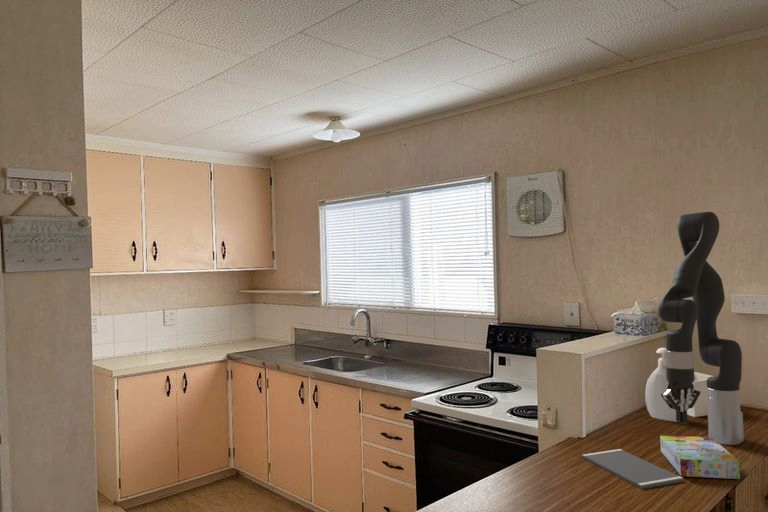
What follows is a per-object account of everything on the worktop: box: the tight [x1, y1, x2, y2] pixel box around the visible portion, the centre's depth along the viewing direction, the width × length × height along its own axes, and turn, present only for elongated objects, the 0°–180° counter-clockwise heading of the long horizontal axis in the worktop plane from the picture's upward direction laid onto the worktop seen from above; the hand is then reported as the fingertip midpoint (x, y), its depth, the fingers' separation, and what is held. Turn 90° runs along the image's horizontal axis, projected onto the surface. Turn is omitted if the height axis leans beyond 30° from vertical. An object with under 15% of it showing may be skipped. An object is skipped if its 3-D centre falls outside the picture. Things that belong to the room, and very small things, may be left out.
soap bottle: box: [644, 347, 685, 423], centre depth 211 cm, size 14×8×27 cm, turn 39°
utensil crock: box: [687, 371, 714, 418], centre depth 219 cm, size 14×14×14 cm
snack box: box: [659, 435, 741, 480], centre depth 166 cm, size 21×6×15 cm
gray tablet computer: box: [580, 448, 686, 490], centre depth 165 cm, size 14×26×1 cm, turn 17°
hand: (681, 423), depth 171 cm, fingers closed
